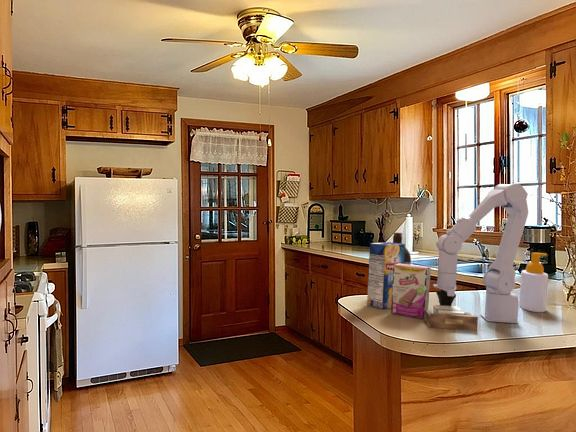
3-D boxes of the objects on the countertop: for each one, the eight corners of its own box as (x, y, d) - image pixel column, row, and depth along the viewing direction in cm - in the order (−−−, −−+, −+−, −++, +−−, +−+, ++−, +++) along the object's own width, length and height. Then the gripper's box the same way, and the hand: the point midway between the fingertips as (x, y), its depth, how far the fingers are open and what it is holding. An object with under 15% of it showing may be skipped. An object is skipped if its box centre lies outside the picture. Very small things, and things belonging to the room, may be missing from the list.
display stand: (468, 322, 149) (469, 309, 149) (477, 330, 140) (478, 317, 140) (424, 319, 151) (425, 306, 151) (430, 327, 141) (431, 314, 141)
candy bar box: (390, 314, 156) (392, 264, 155) (395, 311, 160) (397, 262, 160) (424, 319, 150) (427, 268, 150) (428, 316, 155) (431, 266, 154)
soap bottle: (550, 313, 166) (554, 255, 165) (525, 311, 167) (529, 254, 166) (538, 305, 178) (542, 251, 178) (515, 303, 180) (518, 250, 179)
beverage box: (366, 305, 167) (369, 243, 166) (386, 301, 174) (389, 242, 173) (382, 309, 162) (385, 245, 161) (401, 305, 169) (405, 244, 168)
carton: (456, 320, 151) (457, 306, 151) (464, 328, 142) (465, 313, 142) (432, 318, 152) (433, 304, 152) (438, 326, 143) (439, 311, 143)
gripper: (430, 268, 160) (428, 307, 161) (438, 275, 146) (436, 318, 146) (451, 269, 159) (449, 309, 160) (462, 276, 145) (460, 320, 145)
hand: (444, 313), depth 153 cm, fingers closed
